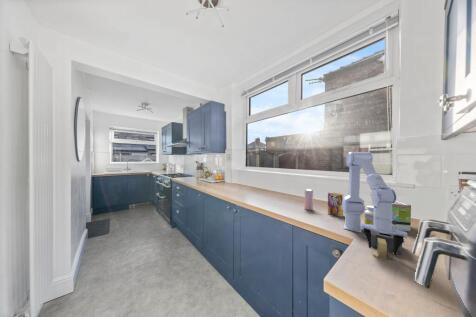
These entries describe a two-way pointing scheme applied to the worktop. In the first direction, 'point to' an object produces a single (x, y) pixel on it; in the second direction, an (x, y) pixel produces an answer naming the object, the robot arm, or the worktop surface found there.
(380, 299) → the worktop surface
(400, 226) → the tea box
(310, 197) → the beverage can
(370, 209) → the supplement bottle
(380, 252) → the yellow flat block
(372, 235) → the coin box
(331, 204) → the candy box
